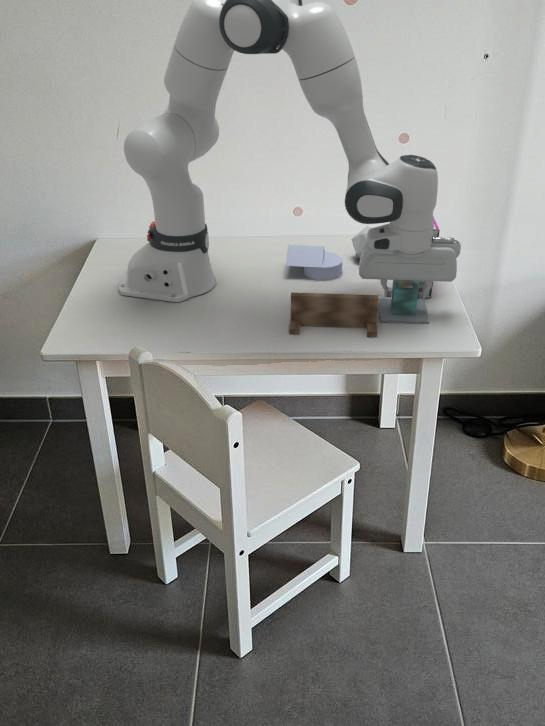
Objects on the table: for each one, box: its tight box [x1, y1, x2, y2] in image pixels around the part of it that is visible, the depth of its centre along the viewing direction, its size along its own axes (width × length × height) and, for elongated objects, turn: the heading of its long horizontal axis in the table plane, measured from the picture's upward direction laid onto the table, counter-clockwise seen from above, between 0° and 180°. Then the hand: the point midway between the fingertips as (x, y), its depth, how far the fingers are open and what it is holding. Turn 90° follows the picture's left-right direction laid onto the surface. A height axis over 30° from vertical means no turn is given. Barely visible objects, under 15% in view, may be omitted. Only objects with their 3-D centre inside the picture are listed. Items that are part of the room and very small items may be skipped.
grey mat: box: [379, 297, 430, 325], centre depth 159 cm, size 10×10×1 cm
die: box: [350, 226, 372, 260], centre depth 180 cm, size 8×9×10 cm
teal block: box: [390, 280, 418, 316], centre depth 157 cm, size 5×5×6 cm
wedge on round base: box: [285, 244, 343, 281], centre depth 175 cm, size 9×7×13 cm
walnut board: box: [288, 291, 380, 338], centre depth 151 cm, size 18×5×7 cm, turn 85°
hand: (404, 297), depth 157 cm, fingers open, 6 cm apart
